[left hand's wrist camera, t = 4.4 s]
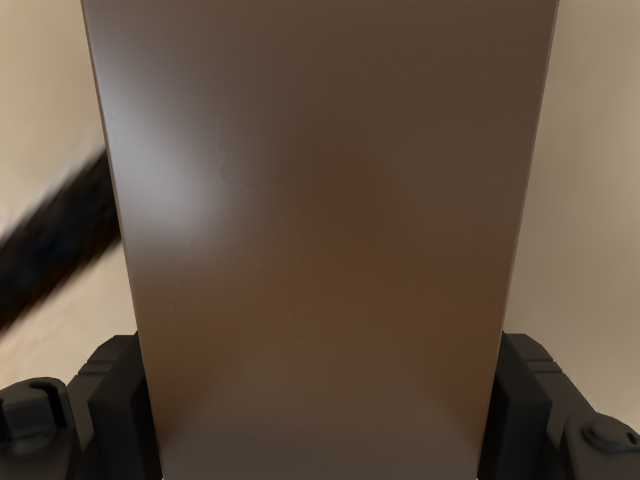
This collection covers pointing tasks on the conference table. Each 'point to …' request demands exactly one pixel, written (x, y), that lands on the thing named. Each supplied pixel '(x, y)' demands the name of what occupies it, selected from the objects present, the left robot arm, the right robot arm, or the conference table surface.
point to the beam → (320, 223)
